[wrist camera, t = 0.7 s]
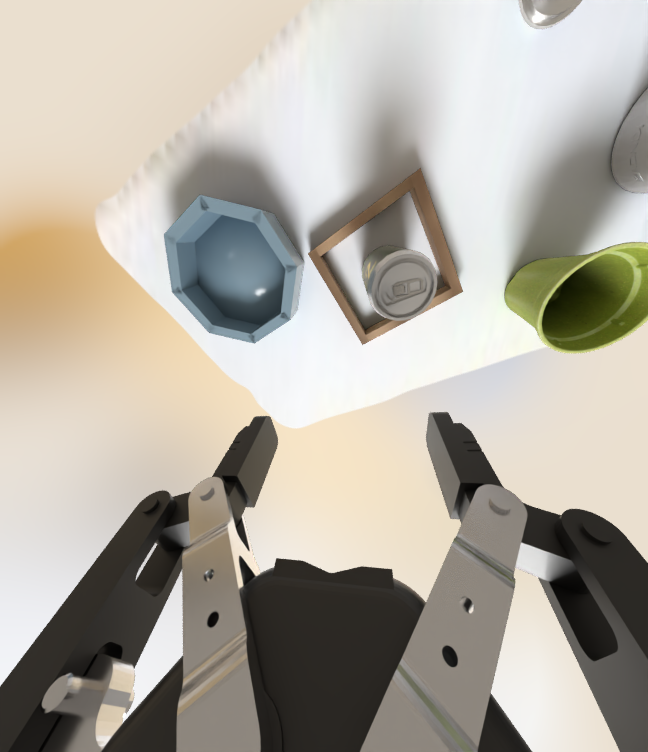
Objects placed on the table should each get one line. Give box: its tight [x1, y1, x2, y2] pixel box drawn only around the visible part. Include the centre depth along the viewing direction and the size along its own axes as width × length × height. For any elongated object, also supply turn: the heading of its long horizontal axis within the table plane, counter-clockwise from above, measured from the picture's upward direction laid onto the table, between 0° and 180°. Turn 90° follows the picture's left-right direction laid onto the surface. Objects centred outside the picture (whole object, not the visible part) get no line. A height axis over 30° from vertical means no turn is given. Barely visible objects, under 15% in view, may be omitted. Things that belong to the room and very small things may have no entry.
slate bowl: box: [164, 195, 304, 343], centre depth 28 cm, size 14×14×4 cm
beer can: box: [362, 246, 438, 321], centre depth 23 cm, size 5×5×12 cm
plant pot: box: [505, 242, 648, 353], centre depth 23 cm, size 9×9×9 cm
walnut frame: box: [308, 168, 463, 345], centre depth 27 cm, size 13×13×2 cm
